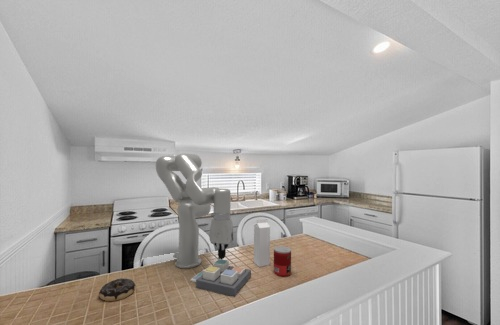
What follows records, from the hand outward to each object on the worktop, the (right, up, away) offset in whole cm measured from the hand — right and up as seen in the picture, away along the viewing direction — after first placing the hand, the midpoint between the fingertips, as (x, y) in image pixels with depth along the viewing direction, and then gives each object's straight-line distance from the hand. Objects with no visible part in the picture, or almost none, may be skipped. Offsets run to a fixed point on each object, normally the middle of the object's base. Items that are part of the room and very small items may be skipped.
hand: (221, 258), depth 100 cm
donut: (-37, -8, -15) cm, 41 cm away
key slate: (+4, -5, -10) cm, 12 cm away
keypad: (+2, -8, -5) cm, 10 cm away
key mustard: (-3, -5, -7) cm, 9 cm away
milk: (+18, -9, +14) cm, 24 cm away
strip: (-9, -8, 0) cm, 12 cm away
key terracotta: (+7, -7, -3) cm, 11 cm away
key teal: (0, -5, 0) cm, 5 cm away
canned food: (+27, -9, +4) cm, 29 cm away
